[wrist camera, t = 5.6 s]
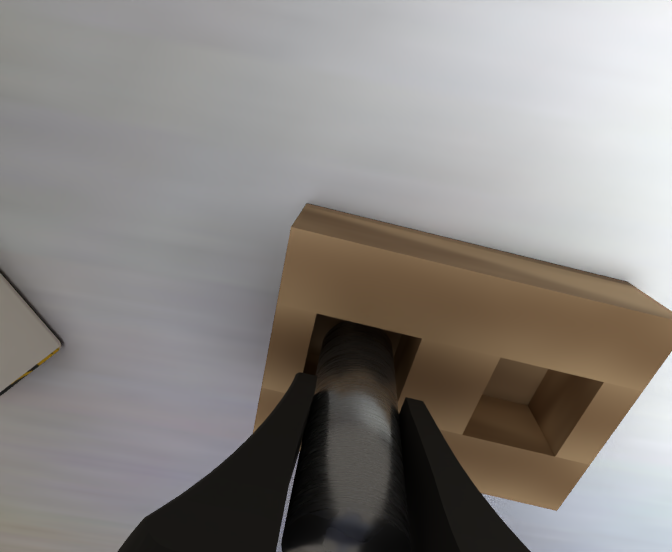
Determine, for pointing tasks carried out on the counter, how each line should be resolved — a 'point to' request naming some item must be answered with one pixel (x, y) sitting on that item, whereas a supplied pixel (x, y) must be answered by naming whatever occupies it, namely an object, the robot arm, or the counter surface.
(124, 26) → the counter surface
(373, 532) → the steel pin
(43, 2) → the counter surface
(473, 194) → the counter surface
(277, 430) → the robot arm
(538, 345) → the hole block
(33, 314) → the medicine bottle
